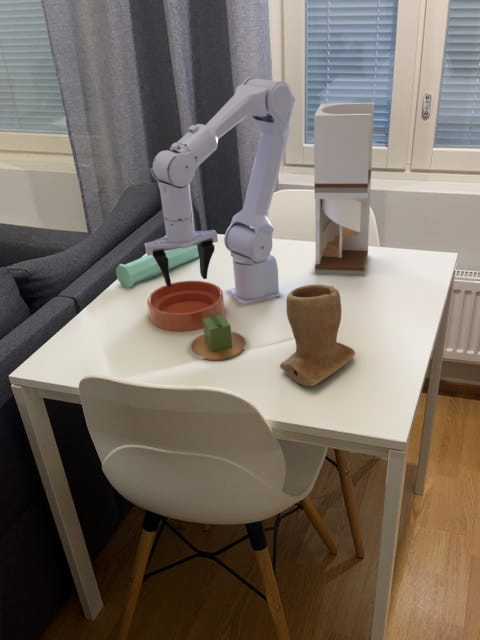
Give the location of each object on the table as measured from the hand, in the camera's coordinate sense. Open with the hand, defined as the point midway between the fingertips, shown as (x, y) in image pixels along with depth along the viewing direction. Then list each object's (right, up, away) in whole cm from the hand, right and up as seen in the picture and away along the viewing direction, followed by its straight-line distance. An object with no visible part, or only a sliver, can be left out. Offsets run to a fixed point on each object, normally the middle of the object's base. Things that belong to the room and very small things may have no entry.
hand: (186, 280), depth 143 cm
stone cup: (+25, -19, -12) cm, 34 cm away
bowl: (0, -6, +8) cm, 10 cm away
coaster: (+7, -14, -4) cm, 16 cm away
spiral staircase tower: (+36, +8, +24) cm, 44 cm away
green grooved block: (+7, -14, -4) cm, 16 cm away
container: (-7, +8, +29) cm, 31 cm away
